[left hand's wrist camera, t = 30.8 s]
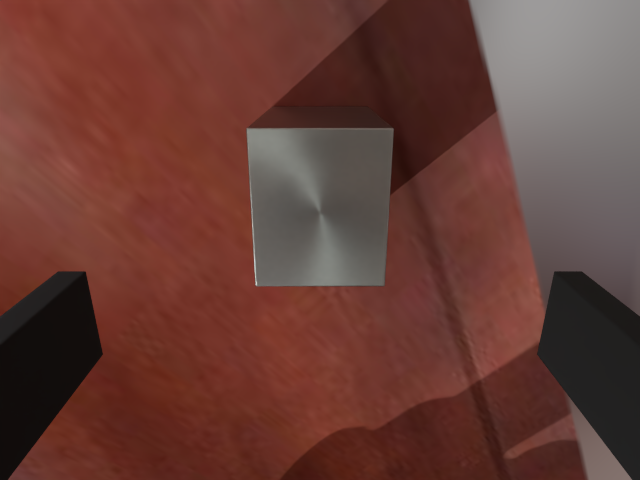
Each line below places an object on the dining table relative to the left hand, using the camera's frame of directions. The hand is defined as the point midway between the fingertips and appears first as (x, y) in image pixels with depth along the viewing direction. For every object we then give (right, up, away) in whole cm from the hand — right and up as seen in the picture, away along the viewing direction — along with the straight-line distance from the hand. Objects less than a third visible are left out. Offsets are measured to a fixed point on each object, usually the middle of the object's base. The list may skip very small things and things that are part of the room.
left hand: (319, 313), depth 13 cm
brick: (0, +8, +19) cm, 21 cm away
